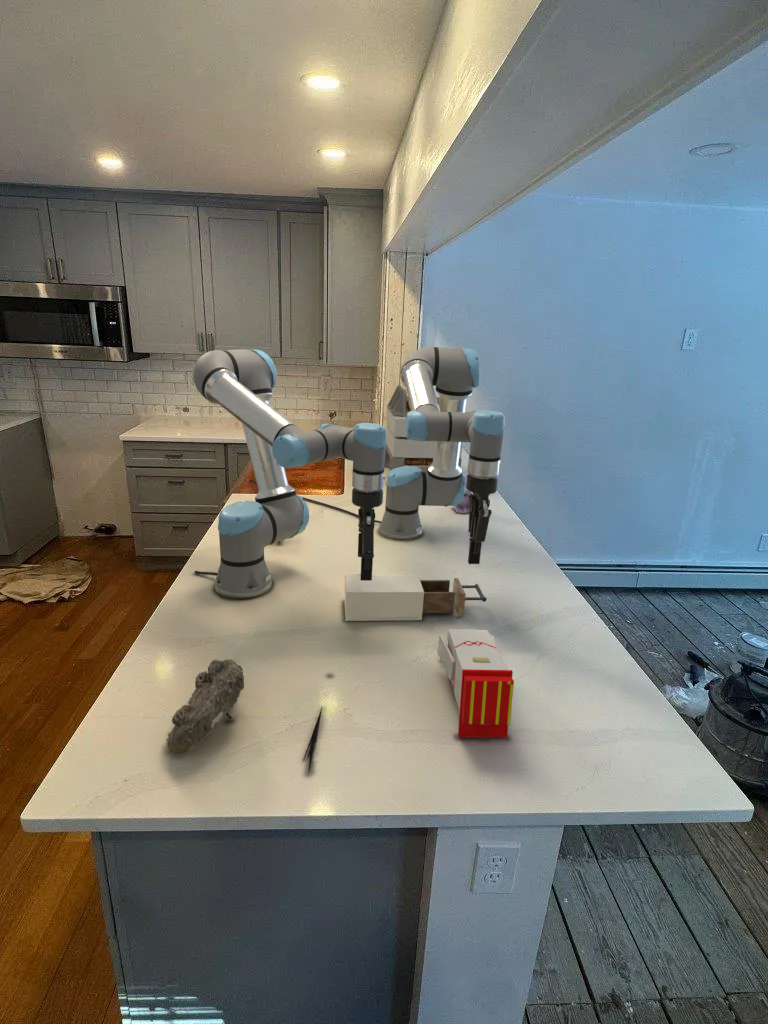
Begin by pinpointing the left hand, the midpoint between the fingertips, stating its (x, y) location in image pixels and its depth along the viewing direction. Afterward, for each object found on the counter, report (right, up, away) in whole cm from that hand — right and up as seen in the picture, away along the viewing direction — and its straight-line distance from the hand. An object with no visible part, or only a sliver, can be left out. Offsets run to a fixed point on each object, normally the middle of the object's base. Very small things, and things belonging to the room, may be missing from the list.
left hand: (364, 567), depth 144 cm
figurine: (+37, +15, +82) cm, 91 cm away
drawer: (+19, -11, +6) cm, 23 cm away
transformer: (+22, +33, +131) cm, 137 cm away
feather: (-7, -26, -36) cm, 45 cm away
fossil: (-28, -25, -36) cm, 52 cm away
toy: (+23, -24, -26) cm, 42 cm away
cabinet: (+4, -12, +5) cm, 13 cm away
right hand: (+28, +1, +2) cm, 28 cm away
